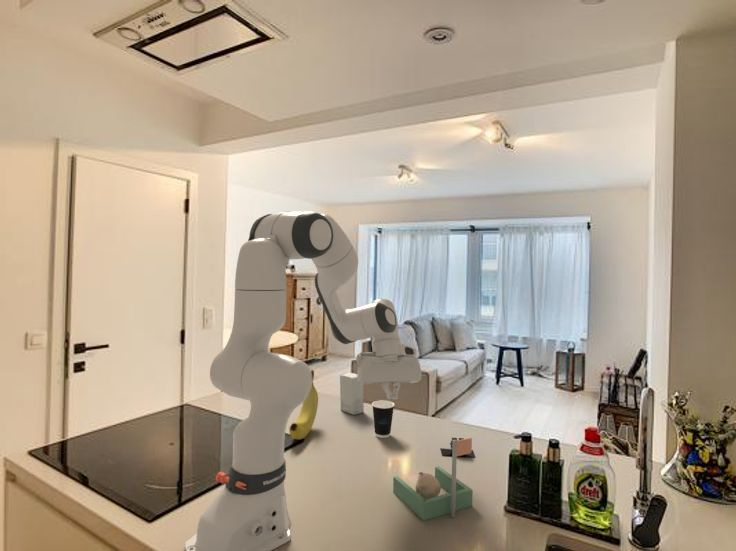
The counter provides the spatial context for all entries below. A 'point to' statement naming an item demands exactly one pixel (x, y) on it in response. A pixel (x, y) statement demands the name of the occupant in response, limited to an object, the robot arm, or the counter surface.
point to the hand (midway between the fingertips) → (392, 398)
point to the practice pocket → (457, 490)
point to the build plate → (449, 451)
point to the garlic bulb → (427, 486)
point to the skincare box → (351, 394)
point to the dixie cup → (382, 417)
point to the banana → (305, 415)
